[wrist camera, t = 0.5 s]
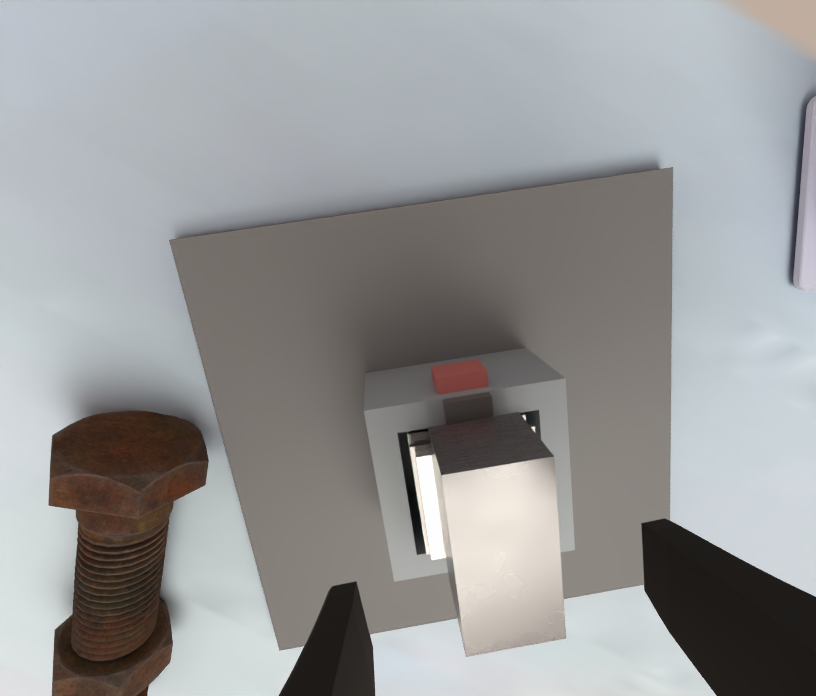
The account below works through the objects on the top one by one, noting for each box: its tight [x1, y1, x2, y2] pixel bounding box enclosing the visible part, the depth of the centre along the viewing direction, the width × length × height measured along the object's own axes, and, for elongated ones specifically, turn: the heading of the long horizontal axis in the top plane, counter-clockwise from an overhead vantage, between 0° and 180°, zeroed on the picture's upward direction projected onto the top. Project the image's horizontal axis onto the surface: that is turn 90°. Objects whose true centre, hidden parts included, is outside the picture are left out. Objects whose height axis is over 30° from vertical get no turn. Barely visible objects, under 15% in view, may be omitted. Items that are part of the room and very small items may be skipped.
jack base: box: [169, 167, 673, 650], centre depth 19 cm, size 20×20×5 cm
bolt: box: [49, 411, 209, 696], centre depth 20 cm, size 6×5×15 cm
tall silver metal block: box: [407, 412, 566, 657], centre depth 17 cm, size 4×6×8 cm
